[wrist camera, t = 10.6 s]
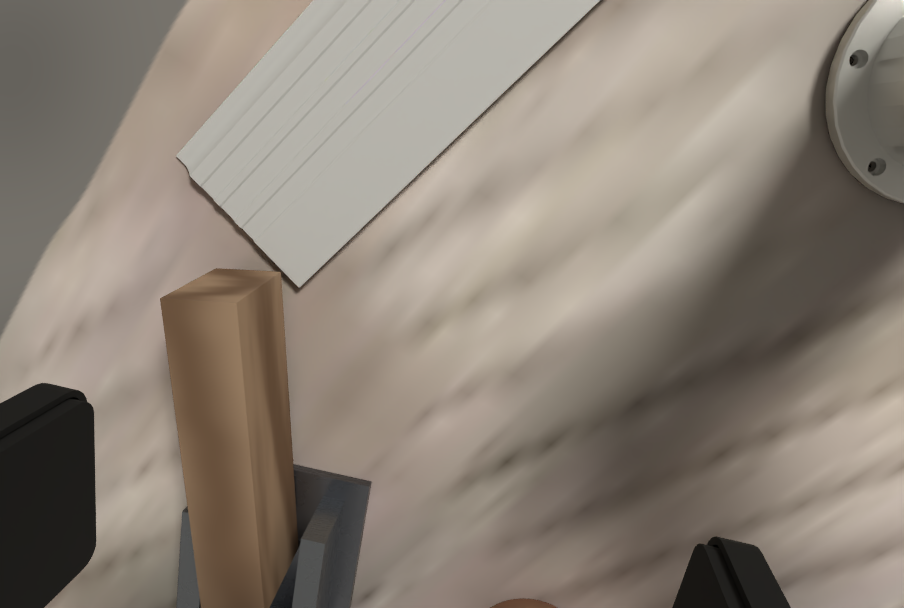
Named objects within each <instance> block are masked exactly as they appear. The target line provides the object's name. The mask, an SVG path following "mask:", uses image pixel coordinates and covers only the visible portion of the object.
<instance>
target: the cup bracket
mask: <svg viewBox="0 0 904 608" xmlns="http://www.w3.org/2000/svg"><path fill="white" fill-rule="evenodd" d="M293 469H294V484H295V500H296V515H297V531H298V546H299V548H298V550H297V552H296V554H295V556H294V558H293V560H292V562H291V564H290V567H289V569H288V571H287V573H286V575H285V577H284V579H283V581H282V583H281V585H280V587H279V589H278V591H277V593H276V595H275V597H274V599H273V601H272V603H271V605H270V608H350V606H351V600H352V594H353V589H354V583H355V577H356V571H357V565H358V559H359V553H360V547H361V541H362V535H363V529H364V523H365V517H366V512H367V506H368V500H369V494H370V488H371V481H366V480H362V479H357V478H353V477H348V476H344V475H339V474H335V473H330V472H326V471H321V470H317V469H312V468H308V467H303V466H299V465H294V464H293ZM177 608H201V604H200V596H199V588H198V581H197V573H196V566H195V558H194V551H193V543H192V536H191V528H190V520H189V513H188V506H187V507H186V508H185V509H184V510H183V511H182V526H181V542H180V559H179V575H178V592H177Z"/></svg>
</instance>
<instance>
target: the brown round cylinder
mask: <svg viewBox="0 0 904 608" xmlns="http://www.w3.org/2000/svg"><path fill="white" fill-rule="evenodd" d="M490 608H557V607H555V606H553V605H551V604H549V603H546V602H543V601H539V600H534V599H513V600H507V601H504V602H501V603H498V604H496V605H494V606H492V607H490Z"/></svg>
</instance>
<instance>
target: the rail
mask: <svg viewBox="0 0 904 608" xmlns="http://www.w3.org/2000/svg"><path fill="white" fill-rule="evenodd" d="M160 301H161V309H162V316H163V324H164V332H165V339H166V347H167V354H168V362H169V369H170V377H171V384H172V392H173V400H174V407H175V415H176V422H177V430H178V437H179V445H180V452H181V460H182V468H183V475H184V483H185V490H186V498H187V505H188V513H189V520H190V528H191V536H192V543H193V551H194V558H195V566H196V573H197V581H198V588H199V596H200V604H201V608H270V605H271V603H272V601H273V599H274V597H275V595H276V593H277V591H278V589H279V587H280V585H281V583H282V581H283V579H284V577H285V575H286V573H287V571H288V569H289V567H290V564H291V562H292V560H293V558H294V556H295V554H296V552H297V550H298V548H299V546H298V531H297V515H296V500H295V484H294V469H293V453H292V438H291V422H290V407H289V391H288V376H287V360H286V345H285V330H284V314H283V299H282V283H281V272H273V271H255V270H236V269H217V268H216V269H214V270H212V271H210V272H209V273H207V274H205V275H203V276H201V277H199V278H197V279H195V280H194V281H192V282H190V283H188V284H186V285H184V286H182V287H181V288H179V289H177V290H175V291H173V292H171V293H169V294H168V295H166V296H164V297H162V298H160Z"/></svg>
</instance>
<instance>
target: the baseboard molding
mask: <svg viewBox="0 0 904 608" xmlns="http://www.w3.org/2000/svg"><path fill="white" fill-rule="evenodd" d="M599 1H600V0H313V1H312V2H311V3H310V4H309V5H308V7H307V8H306V9H305V10H304V11H303V12H302V13H301V14H300V16H299V17H298V18H297V19H296V20H295V21H294V22H293V24H292V25H291V26H290V27H289V28H288V29H287V30H286V31H285V33H284V34H283V35H282V36H281V37H280V38H279V39H278V41H277V42H276V43H275V44H274V45H273V46H272V47H271V49H270V50H269V51H268V52H267V53H266V54H265V55H264V56H263V58H262V59H261V60H260V61H259V62H258V63H257V64H256V66H255V67H254V68H253V69H252V70H251V71H250V72H249V73H248V75H247V76H246V77H245V78H244V79H243V80H242V81H241V83H240V84H239V85H238V86H237V87H236V88H235V89H234V90H233V92H232V93H231V94H230V95H229V96H228V97H227V98H226V100H225V101H224V102H223V103H222V104H221V105H220V106H219V108H218V109H217V110H216V111H215V112H214V113H213V114H212V115H211V117H210V118H209V119H208V120H207V121H206V122H205V123H204V125H203V126H202V127H201V128H200V129H199V130H198V131H197V132H196V134H195V135H194V136H193V137H192V138H191V139H190V140H189V142H188V143H187V144H186V145H185V146H184V147H183V148H182V150H181V151H180V152H179V153H178V154H177V155H176V156H177V157H178V158H179V159H180V160H181V161H182V162H183V163H184V164H185V166H186V167H187V169H188V171H189V174H190V177H191V178H192V179H193V180H194V181H195V182H196V183H197V184H198V185H199V186H201V187H202V188H203V189H204V190H205V191H206V192H207V193H208V194H209V195H210V196H211V197H212V198H213V199H214V201H215V202H216V203H217V204H218V205H219V206H220V207H222V208H223V209H224V211H225V212H226V213H227V214H228V215H229V216H230V217H231V218H232V219H233V220H234V222H235V223H236V224H237V225H238V226H239V227H240V228H242V229H243V230H244V231H245V232H246V233H247V234H248V235H249V236H250V237H251V238H252V239H253V240H254V242H255V243H256V244H257V245H258V246H259V247H260V248H261V249H262V250H263V251H264V252H265V253H266V255H267V256H268V257H269V258H270V259H271V260H272V261H273V262H274V263H275V264H276V265H277V266H278V267H279V268H280V269H281V270H282V271H283V272H284V273H285V274H286V275H287V276H288V277H289V278H290V279H291V280H292V281H293V282H294V283H295V284H296V285H297V286H298V287H299V288H300V287H301V286H302V285H303V284H304V283H305V282H306V281H307V280H308V279H309V278H310V277H311V276H313V275H314V274H315V273H316V272H317V271H318V270H319V269H320V268H321V267H322V266H323V265H324V264H325V263H326V262H327V261H328V260H329V259H330V258H331V257H332V256H333V255H334V254H336V253H337V252H338V251H339V250H340V249H341V248H342V247H343V246H344V245H345V244H346V243H347V242H348V241H349V240H350V239H351V238H352V237H353V236H354V235H355V234H356V233H358V232H359V231H360V230H361V229H362V228H363V227H364V226H365V225H366V224H367V223H368V222H369V221H370V220H371V219H372V218H373V217H374V216H375V215H376V214H377V213H378V212H379V211H381V210H382V209H383V208H384V207H385V206H386V205H387V204H388V203H389V202H390V201H391V200H392V199H393V198H394V197H395V196H396V195H397V194H398V193H399V192H400V191H401V190H403V189H404V188H405V187H406V186H407V185H408V184H409V183H410V182H411V181H412V180H413V179H414V178H415V177H416V176H417V175H418V174H419V173H420V172H421V171H422V170H423V169H424V168H426V167H427V166H428V165H429V164H430V163H431V162H432V161H433V160H434V159H435V158H436V157H437V156H438V155H439V154H440V153H441V152H442V151H443V150H444V149H445V148H446V147H448V146H449V145H450V144H451V143H452V142H453V141H454V140H455V139H456V138H457V137H458V136H459V135H460V134H461V133H462V132H463V131H464V130H465V129H466V128H467V127H468V126H469V125H471V124H472V123H473V122H474V121H475V120H476V119H477V118H478V117H479V116H480V115H481V114H482V113H483V112H484V111H485V110H486V109H487V108H488V107H489V106H490V105H491V104H493V103H494V102H495V101H496V100H497V99H498V98H499V97H500V96H501V95H502V94H503V93H504V92H505V91H506V90H507V89H508V88H509V87H510V86H511V85H512V84H513V83H514V82H516V81H517V80H518V79H519V78H520V77H521V76H522V75H523V74H524V73H525V72H526V71H527V70H528V69H529V68H530V67H531V66H532V65H533V64H534V63H535V62H536V61H538V60H539V59H540V58H541V57H542V56H543V55H544V54H545V53H546V52H547V51H548V50H549V49H550V48H551V47H552V46H553V45H554V44H555V43H556V42H557V41H558V40H559V39H561V38H562V37H563V36H564V35H565V34H566V33H567V32H568V31H569V30H570V29H571V28H572V27H573V26H574V25H575V24H576V23H577V22H578V21H579V20H580V19H581V18H582V17H584V16H585V15H586V14H587V13H588V12H589V11H590V10H591V9H592V8H593V7H594V6H595V5H596V4H597V3H598V2H599Z"/></svg>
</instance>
